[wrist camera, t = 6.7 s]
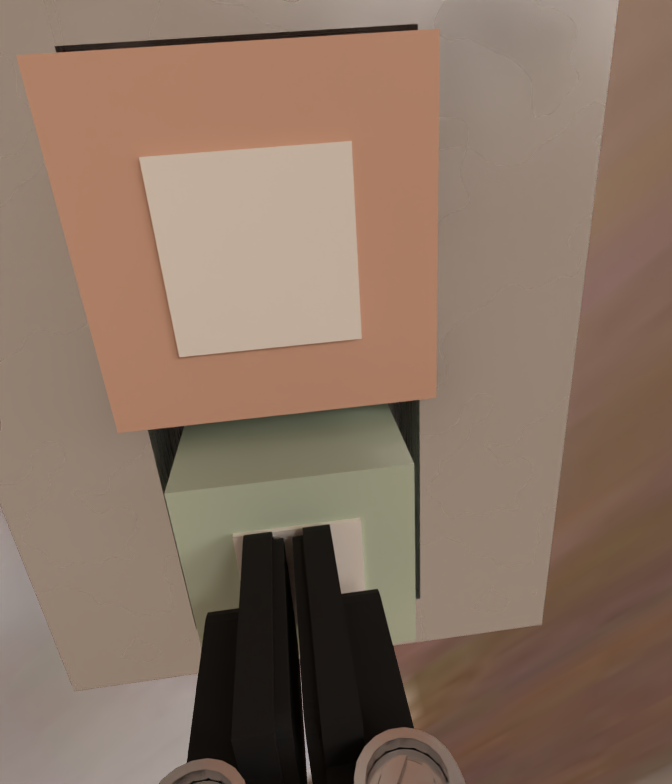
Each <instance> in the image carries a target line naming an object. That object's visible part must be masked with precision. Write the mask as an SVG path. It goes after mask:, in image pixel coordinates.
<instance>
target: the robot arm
mask: <svg viewBox="0 0 672 784" xmlns="http://www.w3.org/2000/svg"><path fill="white" fill-rule="evenodd" d="M302 530H303V535H301V536H293V537H292V544H293V559H294V574H295V589H296V605H297V620H298V635H299V649H298V640H297V632H296V625H295V617H294V610H293V603H292V595H291V588H290V581H289V573H288V566H287V558H286V551H285V544H284V538H278V539H273V534H272V532H265V533H257V534H249V535H244V536H243V546H242V563H241V580H240V597H239V608H235V609H228V610H221V611H214V612H208V613H207V615H206V620H205V626H204V633H203V641H202V649H201V657H200V665H199V672H198V680H197V688H196V696H195V704H194V711H193V719H192V727H191V735H190V743H189V750H188V758H187V763H186V764H184V765H182V766H180V767H178V768H176V769H174V770H173V771H172V772H171V773H170V774H168V775H167V776H166V777H165V778H164V779H162V780H161V781H160V783H159V784H307V772H306V757H305V741H304V726H303V710H304V722H305V731H306V740H307V747H308V754H309V761H310V768H311V775H312V782H313V784H466V783H465V780H464V778H463V776H462V774H461V772H460V770H459V767H458V765H457V763H456V761H455V760H454V758H453V757H452V755H451V754H450V752H449V750H448V749H447V747H445V746H444V745H443V744H442V743H441V742H440V741H439V740H437V739H436V738H435V737H434V736H432V735H430V734H428V733H426V732H424V731H421V730H419V729H414V727H413V723H412V719H411V715H410V711H409V707H408V703H407V699H406V695H405V691H404V687H403V683H402V679H401V675H400V671H399V667H398V663H397V659H396V655H395V651H394V647H393V644H392V640H391V636H390V632H389V628H388V624H387V620H386V616H385V612H384V608H383V604H382V600H381V596H380V593H379V591H378V589H372V590H365V591H358V592H351V593H343V594H341V589H340V583H339V577H338V571H337V565H336V559H335V553H334V547H333V541H332V535H331V529H330V524H327V525H319V526H311V527H303V528H302ZM299 650H300V663H299ZM300 665H301V679H300ZM301 681H302V694H301ZM302 696H303V710H302Z"/></svg>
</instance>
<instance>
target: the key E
mask: <svg viewBox="0 0 672 784" xmlns="http://www.w3.org/2000/svg"><path fill="white" fill-rule="evenodd" d="M164 495H165V499H166V503H167V507H168V511H169V516H170V520H171V524H172V528H173V532H174V536H175V540H176V544H177V549H178V553H179V557H180V561H181V565H182V569H183V573H184V578H185V582H186V586H187V590H188V594H189V598H190V602H191V606H192V611H193V615H194V619H195V623H196V627H197V631H198V635H199V640H200V644H201V648H202V641H203V633H204V626H205V620H206V615H207V613H208V612H214V611H221V610H228V609H235V608H239V597H240V580H241V563H242V546H243V536H244V535H249V534H257V533H265V532H272V534H273V539H278V538H284V544H285V551H286V558H287V566H288V573H289V581H290V588H291V595H292V603H293V610H294V617H295V625H296V632H297V640H298V649H299V635H298V620H297V605H296V589H295V574H294V559H293V544H292V537H293V536H301V535H303V530H302V528H303V527H311V526H319V525H327V524H330V529H331V535H332V541H333V547H334V553H335V559H336V565H337V571H338V577H339V583H340V589H341V594H343V593H351V592H358V591H365V590H372V589H378V591H379V593H380V596H381V600H382V604H383V608H384V612H385V616H386V620H387V624H388V628H389V632H390V636H391V640H392V643H399V642H406V641H413V640H416V589H415V483H414V462H413V460H412V458H411V455H410V453H409V451H408V449H407V446H406V444H405V442H404V440H403V437H402V435H401V433H400V431H399V429H398V426H397V424H396V422H395V420H394V417H393V415H392V413H391V411H390V408H389V406H388V404H387V403H386V404H377V405H368V406H359V407H350V408H341V409H332V410H323V411H314V412H305V413H296V414H286V415H277V416H268V417H259V418H250V419H241V420H232V421H223V422H214V423H205V424H196V425H187V426H184V429H183V432H182V436H181V439H180V442H179V446H178V449H177V452H176V456H175V459H174V463H173V466H172V469H171V473H170V476H169V479H168V483H167V486H166V489H165V493H164ZM299 657H300V650H299Z"/></svg>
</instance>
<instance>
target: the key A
mask: <svg viewBox="0 0 672 784" xmlns="http://www.w3.org/2000/svg"><path fill="white" fill-rule="evenodd" d="M16 57H17V61H18V65H19V69H20V72H21V76H22V80H23V83H24V87H25V91H26V94H27V98H28V102H29V106H30V109H31V113H32V117H33V120H34V124H35V128H36V132H37V135H38V139H39V143H40V146H41V150H42V154H43V157H44V161H45V165H46V169H47V172H48V176H49V180H50V183H51V187H52V191H53V195H54V198H55V202H56V206H57V209H58V213H59V217H60V221H61V224H62V228H63V232H64V235H65V239H66V243H67V246H68V250H69V254H70V258H71V261H72V265H73V269H74V272H75V276H76V280H77V284H78V287H79V291H80V295H81V298H82V302H83V306H84V309H85V313H86V317H87V321H88V324H89V328H90V332H91V335H92V339H93V343H94V347H95V350H96V354H97V358H98V361H99V365H100V369H101V372H102V376H103V380H104V384H105V387H106V391H107V395H108V398H109V402H110V406H111V410H112V413H113V417H114V421H115V424H116V428H117V432H118V433H124V432H133V431H142V430H151V429H160V428H169V427H178V426H187V425H196V424H205V423H214V422H223V421H232V420H241V419H250V418H259V417H268V416H277V415H286V414H296V413H305V412H314V411H323V410H332V409H341V408H350V407H359V406H368V405H377V404H386V403H395V402H404V401H413V400H422V399H431V398H436V377H437V276H438V174H439V72H440V29H426V30H410V31H394V32H378V33H362V34H346V35H330V36H314V37H298V38H282V39H266V40H250V41H234V42H218V43H202V44H186V45H170V46H154V47H138V48H122V49H106V50H90V51H74V52H58V53H42V54H26V55H16Z"/></svg>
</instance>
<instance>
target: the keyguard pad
mask: <svg viewBox="0 0 672 784" xmlns="http://www.w3.org/2000/svg"><path fill="white" fill-rule="evenodd" d="M618 3H619V0H0V505H1V508H2V510H3V513H4V515H5V518H6V520H7V523H8V525H9V528H10V531H11V533H12V536H13V538H14V541H15V543H16V546H17V548H18V551H19V553H20V556H21V558H22V561H23V563H24V566H25V568H26V571H27V573H28V576H29V578H30V581H31V583H32V586H33V588H34V591H35V593H36V596H37V598H38V601H39V603H40V606H41V608H42V611H43V613H44V616H45V618H46V621H47V623H48V626H49V628H50V631H51V633H52V636H53V638H54V641H55V644H56V646H57V649H58V651H59V654H60V656H61V659H62V661H63V664H64V666H65V669H66V671H67V674H68V676H69V679H70V681H71V684H72V686H73V689H74V691H78V690H85V689H92V688H99V687H106V686H113V685H120V684H127V683H134V682H141V681H148V680H155V679H162V678H169V677H176V676H183V675H190V674H197V673H198V672H199V665H200V657H201V649H202V648H201V644H200V640H199V635H198V631H197V627H196V623H195V619H194V615H193V611H192V606H191V602H190V598H189V594H188V590H187V586H186V582H185V578H184V573H183V569H182V565H181V561H180V557H179V553H178V549H177V544H176V540H175V536H174V532H173V528H172V524H171V520H170V516H169V511H168V507H167V503H166V499H165V495H164V493H165V489H166V486H167V483H168V479H169V476H170V473H171V469H172V466H173V463H174V459H175V456H176V452H177V449H178V446H179V442H180V439H181V436H182V432H183V429H184V426H178V427H169V428H160V429H151V430H142V431H133V432H124V433H118V432H117V428H116V424H115V421H114V417H113V413H112V410H111V406H110V402H109V398H108V395H107V391H106V387H105V384H104V380H103V376H102V372H101V369H100V365H99V361H98V358H97V354H96V350H95V347H94V343H93V339H92V335H91V332H90V328H89V324H88V321H87V317H86V313H85V309H84V306H83V302H82V298H81V295H80V291H79V287H78V284H77V280H76V276H75V272H74V269H73V265H72V261H71V258H70V254H69V250H68V246H67V243H66V239H65V235H64V232H63V228H62V224H61V221H60V217H59V213H58V209H57V206H56V202H55V198H54V195H53V191H52V187H51V183H50V180H49V176H48V172H47V169H46V165H45V161H44V157H43V154H42V150H41V146H40V143H39V139H38V135H37V132H36V128H35V124H34V120H33V117H32V113H31V109H30V106H29V102H28V98H27V94H26V91H25V87H24V83H23V80H22V76H21V72H20V69H19V65H18V61H17V57H16V55H26V54H42V53H58V52H74V51H90V50H106V49H122V48H138V47H154V46H170V45H186V44H202V43H218V42H234V41H250V40H266V39H282V38H298V37H314V36H330V35H346V34H362V33H378V32H394V31H410V30H426V29H440V72H439V174H438V276H437V377H436V398H431V399H422V400H413V401H404V402H395V403H387V404H388V406H389V408H390V411H391V413H392V415H393V417H394V420H395V422H396V424H397V426H398V429H399V431H400V433H401V435H402V437H403V440H404V442H405V444H406V446H407V449H408V451H409V453H410V455H411V458H412V460H413V462H414V483H415V589H416V640H413V641H406V642H399V643H392V644H393V646H394V645H401V644H408V643H415V642H422V641H429V640H436V639H443V638H451V637H458V636H465V635H472V634H479V633H486V632H493V631H500V630H507V629H514V628H521V627H528V626H535V625H542V618H543V610H544V602H545V594H546V586H547V578H548V570H549V561H550V553H551V545H552V537H553V529H554V521H555V513H556V505H557V497H558V489H559V481H560V472H561V464H562V456H563V448H564V440H565V432H566V424H567V416H568V408H569V400H570V392H571V383H572V375H573V367H574V359H575V351H576V343H577V335H578V327H579V319H580V311H581V303H582V294H583V286H584V278H585V270H586V262H587V254H588V246H589V238H590V230H591V222H592V214H593V205H594V197H595V189H596V181H597V173H598V165H599V157H600V149H601V141H602V133H603V125H604V116H605V108H606V100H607V92H608V84H609V76H610V68H611V60H612V52H613V44H614V36H615V27H616V19H617V11H618ZM299 659H300V657H299Z"/></svg>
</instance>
